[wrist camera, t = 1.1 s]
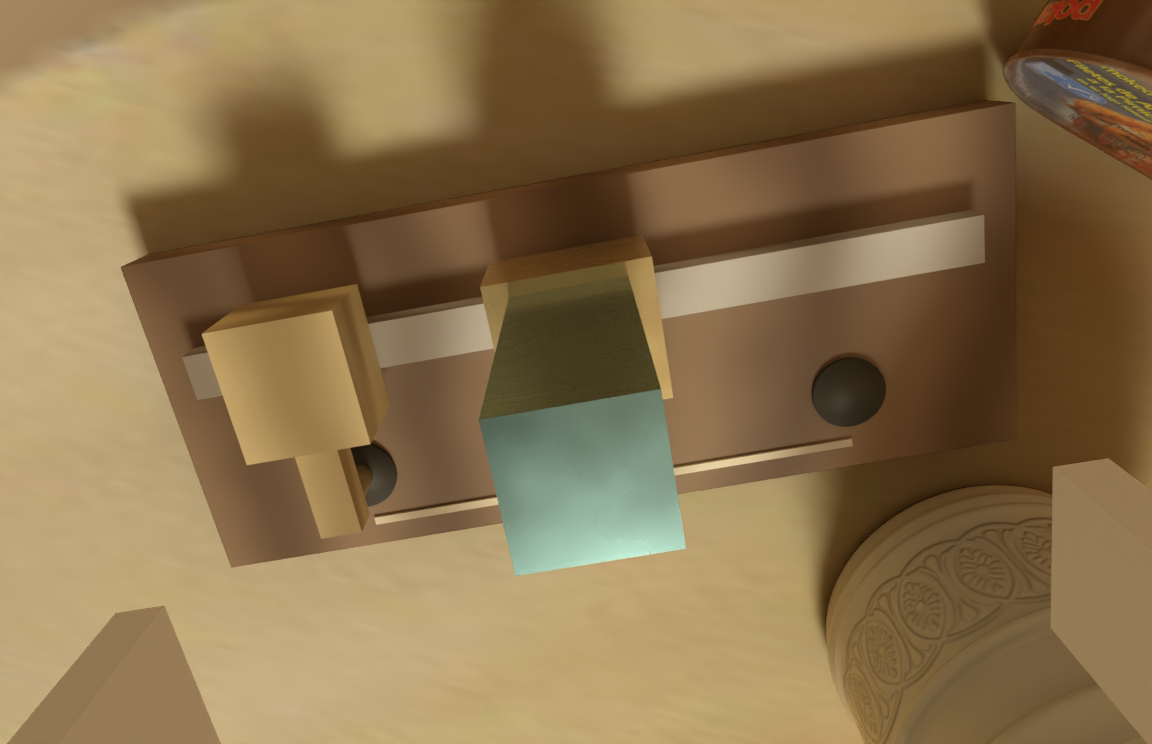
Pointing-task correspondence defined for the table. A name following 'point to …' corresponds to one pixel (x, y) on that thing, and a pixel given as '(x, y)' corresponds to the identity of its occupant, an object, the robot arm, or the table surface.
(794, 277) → the gauge board
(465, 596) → the table surface
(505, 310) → the slider
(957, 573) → the jar
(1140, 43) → the tin
